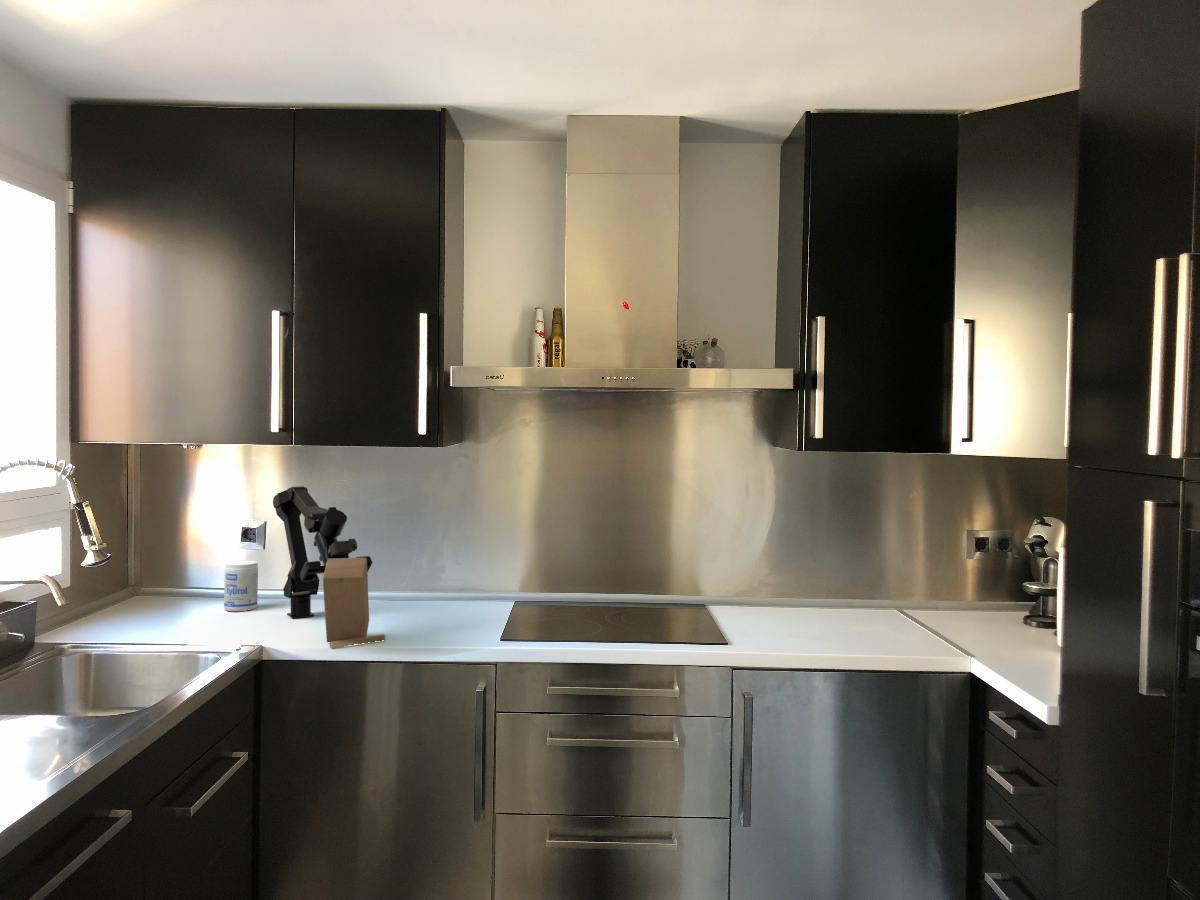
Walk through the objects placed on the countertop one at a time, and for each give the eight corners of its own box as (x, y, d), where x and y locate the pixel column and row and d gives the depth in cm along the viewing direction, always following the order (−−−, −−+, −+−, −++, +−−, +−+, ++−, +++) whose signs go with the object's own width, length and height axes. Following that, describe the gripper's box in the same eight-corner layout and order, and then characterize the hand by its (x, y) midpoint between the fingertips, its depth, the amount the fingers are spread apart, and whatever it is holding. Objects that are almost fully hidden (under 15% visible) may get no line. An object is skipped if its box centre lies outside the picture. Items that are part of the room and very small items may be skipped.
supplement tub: (222, 613, 237) (222, 565, 237) (225, 607, 246) (225, 560, 246) (257, 611, 241) (257, 563, 241) (258, 604, 250) (258, 559, 249)
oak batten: (329, 647, 199) (329, 641, 199) (383, 639, 207) (383, 634, 207) (331, 648, 198) (331, 643, 198) (385, 641, 206) (385, 635, 206)
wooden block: (366, 641, 205) (363, 576, 198) (326, 643, 203) (322, 578, 195) (369, 619, 214) (367, 556, 207) (331, 621, 212) (327, 557, 205)
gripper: (303, 532, 208) (320, 578, 199) (369, 527, 220) (387, 570, 212) (293, 558, 213) (308, 604, 205) (357, 552, 226) (374, 595, 218)
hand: (346, 592), depth 210 cm, fingers closed
